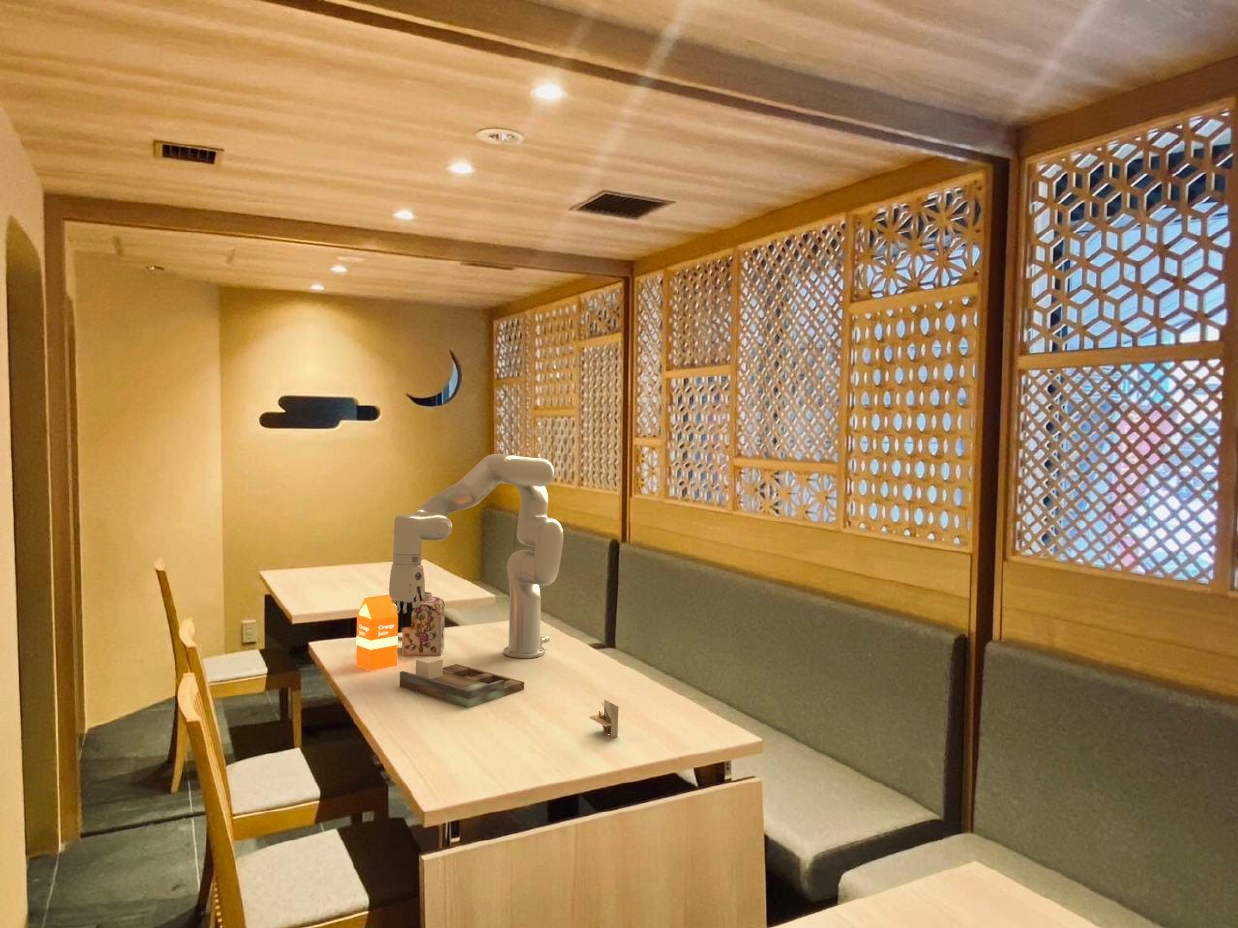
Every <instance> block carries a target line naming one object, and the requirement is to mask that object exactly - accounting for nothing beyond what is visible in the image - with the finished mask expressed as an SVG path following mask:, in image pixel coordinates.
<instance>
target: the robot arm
mask: <svg viewBox="0 0 1238 928" xmlns="http://www.w3.org/2000/svg"><path fill="white" fill-rule="evenodd" d="M554 477H555V468H554V466H553V464H552V463H551V461H549V460H548V459H546V458H540V457H539V458H538V457H528V456H518V455H511V454H503V453H502V454H500V453H493V454H489V455H488V454H487V456H485V457H484V458H483V459H482V460H480V461H479V462H478V463H477V464H476V465H475V466H474V467H473V468H472V469H470V470H469V471H468V472H467V473H466V474H465V475H464V476H463V477H462V478H461V479H460V480H458V481H457V482H456V483H455V484H453V485H451V486H448V487H447V488H445V489H443V490H442V491H440V492H438V493H436V494H433V495H432V496H431V497H429V499H427V500H426V501H425V502H424V503H422V504H421V505H420V506H419V507H418V508H417V509H415V511H414V512H413V513H412V514H411V513H406V514H405V513H403V514H397V515H396V516H395V517H394V520H393V542H392V543H393V545H392V547H393V551H392V563H391V569H390V575H389V583H388V585H389V588H388V595H389V596H390V598H392V599H391V602H392V603H394V605H395V607H396V609H397V610H396V612H397V613H398V628H401V629H403V628H405V627H410V626H411V622H412V612H413V611H414V608H417V607H420V601H424V599H425V592H426V584H425V582H426V581H425V572H424V566H423V565H422V544H423V541H431V542H432V541H433V542H441V541H444V540H446V539H447V538H449V536H450V535H451V534H452V532H453V523H452V521H451V519H450V518H448V517H447V516H449V515H451V514H453V513H456V512H459V511H462V510H466V509H469V508H473V507H475V506H477V505H479V504H480V503H481V502H482V501H483V500H484V499H485V498H486V497H487V496H488V495H489V494H490V493H491V492H492V491H494V489H496V487H498V485H500V484H501V485H505V484H507V485H512V486H515V487H516V488H517V490H518V492H519V496H520V505H519V513H518V519H517V520H518V521H517V528H516V538H517V540H518V541H519V543H521V544H522V545H525V546H527V547H531V548H532V547H533V548H535V549H534V551H533V550H529V549H519V550H516V551H514V552H512V554H511V555H510V556H509V557H508V561H507V564H506V565H507V566H506V570H507V578H508V585H509V606H508V607H509V611H508V614H509V615H508V646H505V647H504V648H503V649H502V651H503V654H504V655H505V656H507V657H511V658H517V659H526V658H527V659H531V658H538V657H540V656H541V657H542V656H543V655H545V653H546V649H545V648H544V647H543V644H546V643H550V636H548V635H546V636H541V612H542V611H541V609H542V605H541V604H542V595H541V593H542V592H541V588H540V587H541V586H542V587H546V586H549V585H551V584H553V583H554V582H555V580H556V578H557V577H558V575H559V571H560V566H561V559H562V553H563V545H564V529H563V527H562V524H561V523H560V522H559V521H558V520H557V519H555V518H554V517H548V508H549V494H548V491H547V488H546V486H548V485H549V484H551V482H552V481H553V479H554ZM408 604H409V605H408Z"/></svg>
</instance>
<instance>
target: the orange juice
mask: <svg viewBox="0 0 1238 928" xmlns="http://www.w3.org/2000/svg"><path fill="white" fill-rule="evenodd" d="M391 599H392V598H390V596H389V594H383V595H377V596H376V595H375V596H369V597H364V599H363V600H362V603H361V605H360V608H359V610H358V612H357V614H356V643H355V644H356V655H355V656H356V659H355V661H356V665H357V666H356V667H360V668H362V669H364V670H367V671H370V672H372V671H377V670H382V669H385V668H392V667H395V666H398V645H399V636H398V634H399V631H398V629H399V626H398V622H399V614H398V611H397V610H396V609H397V608H396V605H395V604H394V603H392V602H391Z"/></svg>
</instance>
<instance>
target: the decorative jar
mask: <svg viewBox="0 0 1238 928" xmlns="http://www.w3.org/2000/svg"><path fill="white" fill-rule="evenodd" d="M408 605H409V604H408ZM401 634H402V637H401V639H402V640H401V648H402V649H401V654H402V656H403V657H429V656H432V657H441V656H442V653H443V650H444V648H445V602H444V599H443V598H440V597H437V596H433V593H432V592H430V591H425V599H424V601H420V607H417V608H414V611H413V612H412V622H411V626H410V627H405V628H402V633H401Z"/></svg>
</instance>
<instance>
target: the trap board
mask: <svg viewBox="0 0 1238 928" xmlns="http://www.w3.org/2000/svg"><path fill="white" fill-rule="evenodd" d="M399 688H402V689H406V690H409V691H412V692H414V693H420V694H422V695H426V696H430V697H433V698H436V699H439V700H443V701H446V702H449V703H451V704H455V705H458V706H461V707H466V708H468V709H469V708H472V707H474V706H478V705H481V704H485V703H487V702H490V701H493V700H497V699H499V698H502V697H505V696H508V695H512V694H515V693H517V692H521V691H523V690H525V681H523V680H520V679H519V680H518V679H514V678H510V677H506V676H503V675H500V674H499V675H498V674H497V673H496V674H495V673H491V672H488V671H484V670H481V669H477V668H473V667H469V666H466V665H465V666H464V665H462V664H458V663H454V664H452V665H447V666H443V676H441V677H437V678H434V679H429V678H426V677H422V676H419V675H416V673H412V672H408V671H404V670H402V671H399Z"/></svg>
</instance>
